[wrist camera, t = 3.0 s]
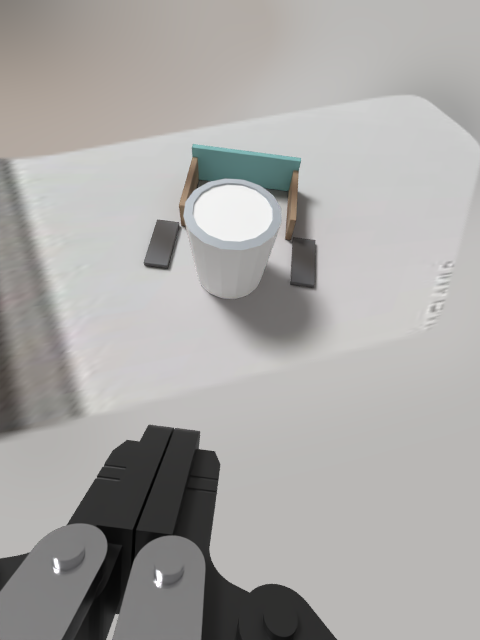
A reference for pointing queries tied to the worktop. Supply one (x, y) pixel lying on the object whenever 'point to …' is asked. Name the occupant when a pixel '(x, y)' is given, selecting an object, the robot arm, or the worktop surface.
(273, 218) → the white cup
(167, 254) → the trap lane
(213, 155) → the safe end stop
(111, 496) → the robot arm
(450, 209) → the worktop surface
